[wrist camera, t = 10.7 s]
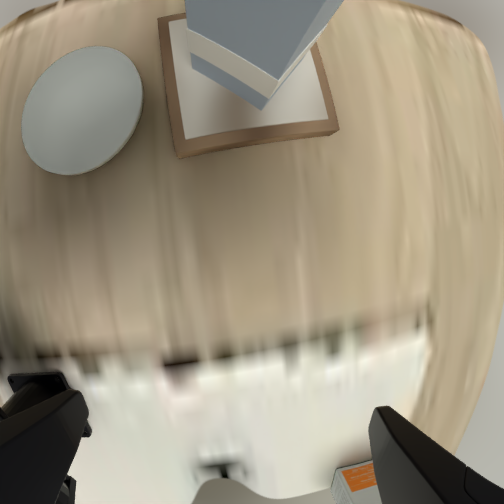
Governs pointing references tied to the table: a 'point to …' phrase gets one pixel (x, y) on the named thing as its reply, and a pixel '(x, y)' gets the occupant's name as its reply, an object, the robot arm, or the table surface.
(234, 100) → the tray
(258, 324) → the table surface
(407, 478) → the robot arm
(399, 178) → the table surface
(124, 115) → the saucer
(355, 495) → the skincare box
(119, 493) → the table surface
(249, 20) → the carton
